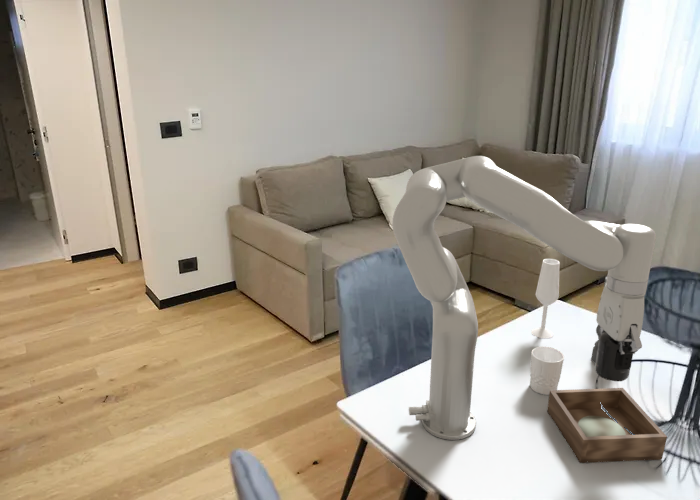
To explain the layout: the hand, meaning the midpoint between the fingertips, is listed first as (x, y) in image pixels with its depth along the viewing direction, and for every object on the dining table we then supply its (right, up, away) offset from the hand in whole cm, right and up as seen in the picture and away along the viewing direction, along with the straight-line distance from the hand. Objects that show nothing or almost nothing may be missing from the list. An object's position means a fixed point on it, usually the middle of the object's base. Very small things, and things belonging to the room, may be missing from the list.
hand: (613, 358), depth 119 cm
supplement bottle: (0, -4, +1) cm, 4 cm away
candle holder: (+15, -8, +37) cm, 40 cm away
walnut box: (0, -19, +7) cm, 20 cm away
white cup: (-7, -13, +24) cm, 28 cm away
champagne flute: (+3, -3, +52) cm, 52 cm away
